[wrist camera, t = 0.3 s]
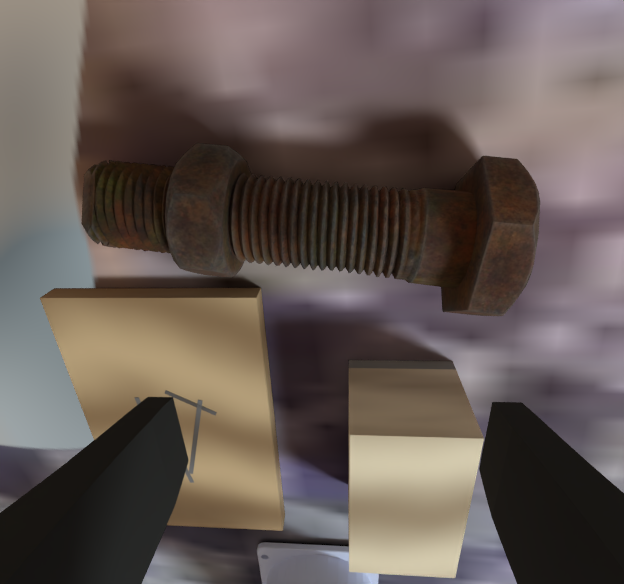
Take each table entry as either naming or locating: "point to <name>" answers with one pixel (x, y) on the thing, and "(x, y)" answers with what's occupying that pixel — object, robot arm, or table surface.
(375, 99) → the table surface
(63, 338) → the board
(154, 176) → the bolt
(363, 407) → the block
